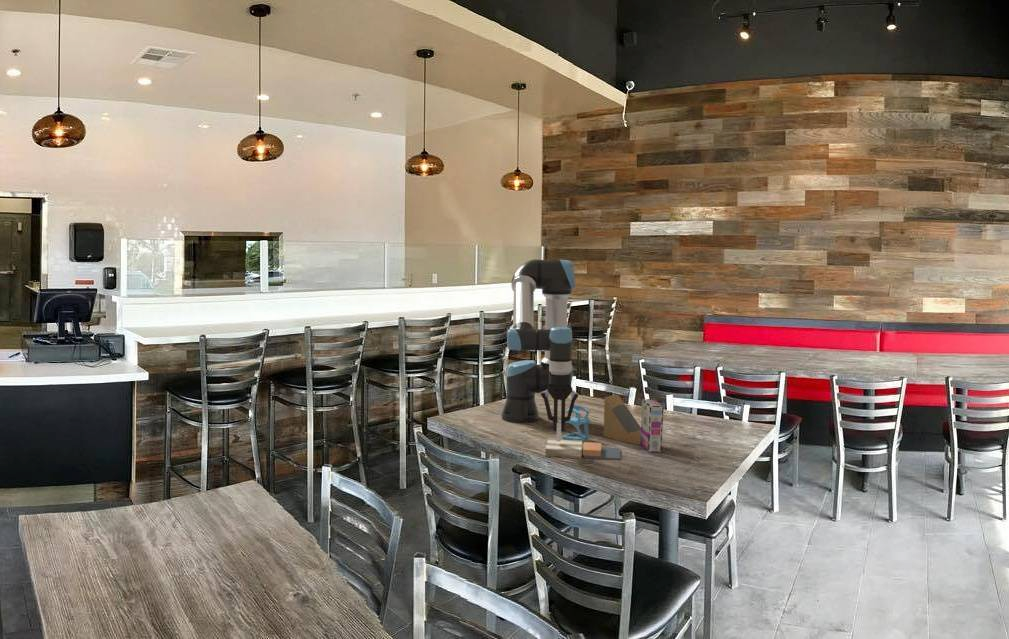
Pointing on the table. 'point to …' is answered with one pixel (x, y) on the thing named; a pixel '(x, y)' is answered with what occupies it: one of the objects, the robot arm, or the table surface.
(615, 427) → the sandwich container
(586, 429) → the chair
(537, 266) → the robot arm
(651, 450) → the candy bar box
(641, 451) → the table surface
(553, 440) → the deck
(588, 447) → the orange flat block
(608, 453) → the mat
